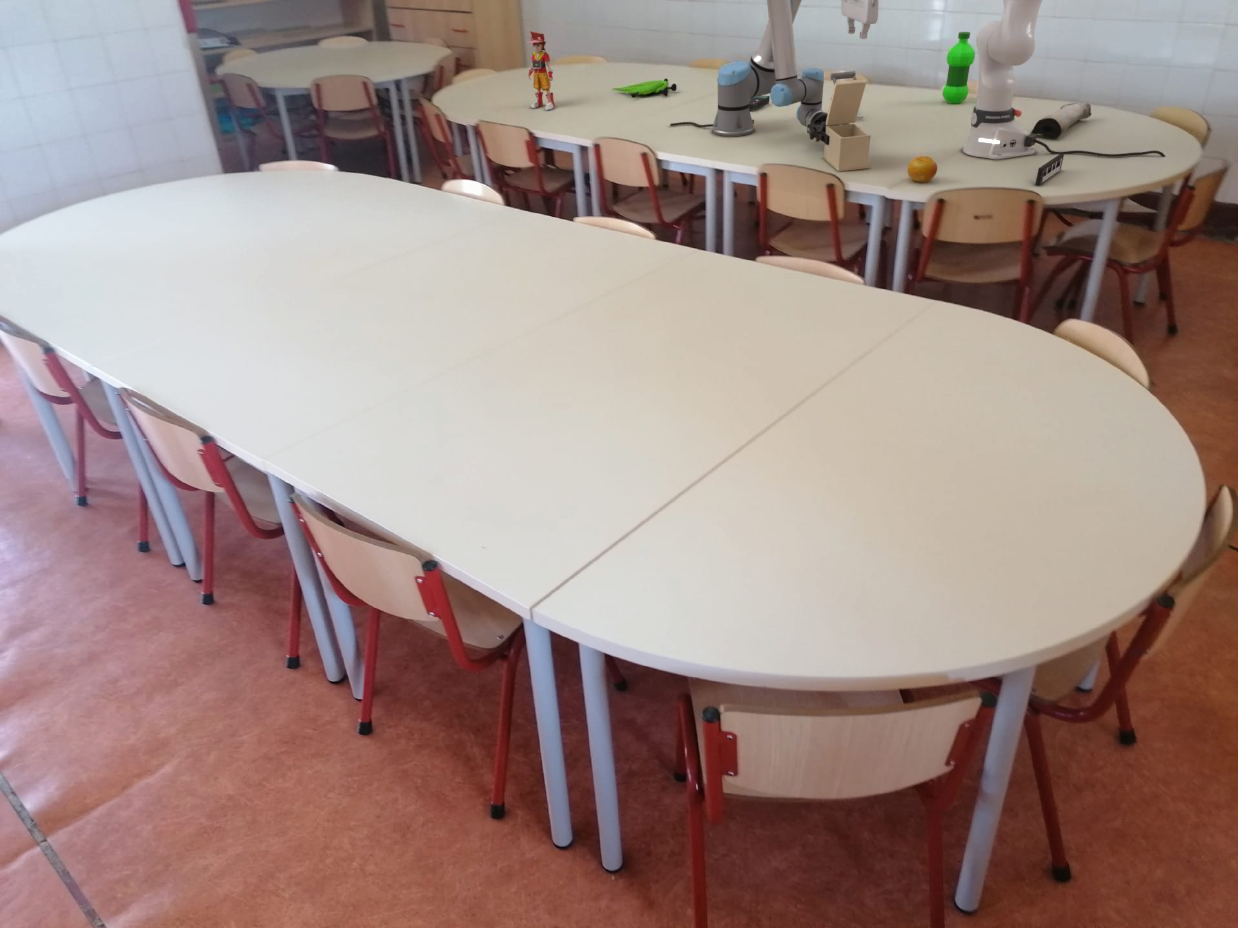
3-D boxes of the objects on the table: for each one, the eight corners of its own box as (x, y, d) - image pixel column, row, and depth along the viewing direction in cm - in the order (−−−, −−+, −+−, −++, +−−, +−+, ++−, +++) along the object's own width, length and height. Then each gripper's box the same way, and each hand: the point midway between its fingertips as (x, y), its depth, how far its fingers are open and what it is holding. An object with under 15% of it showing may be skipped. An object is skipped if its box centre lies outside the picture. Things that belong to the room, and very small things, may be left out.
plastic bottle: (973, 101, 354) (984, 32, 339) (955, 106, 349) (966, 36, 335) (952, 97, 361) (962, 29, 346) (934, 102, 356) (944, 33, 342)
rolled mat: (1058, 107, 328) (1083, 90, 320) (1071, 128, 329) (1097, 111, 320) (1025, 130, 311) (1051, 112, 303) (1040, 152, 311) (1065, 134, 303)
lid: (866, 82, 283) (859, 63, 288) (836, 85, 283) (829, 66, 287) (855, 122, 297) (848, 105, 301) (826, 125, 297) (819, 107, 301)
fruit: (901, 172, 275) (918, 148, 272) (903, 174, 283) (919, 151, 280) (924, 187, 274) (941, 164, 271) (925, 189, 282) (942, 166, 279)
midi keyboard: (1039, 185, 269) (1043, 168, 266) (1035, 184, 270) (1038, 168, 267) (1060, 170, 279) (1064, 154, 277) (1056, 169, 280) (1060, 153, 277)
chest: (867, 168, 291) (870, 135, 285) (838, 171, 291) (840, 138, 285) (852, 155, 304) (854, 123, 298) (823, 158, 303) (825, 126, 297)
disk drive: (754, 111, 359) (769, 102, 369) (754, 104, 357) (770, 95, 367) (731, 109, 364) (746, 100, 374) (731, 102, 362) (747, 93, 372)
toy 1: (525, 109, 381) (517, 32, 364) (534, 104, 388) (527, 28, 371) (550, 110, 377) (543, 32, 360) (559, 105, 384) (553, 28, 367)
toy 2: (686, 85, 398) (631, 84, 414) (685, 72, 395) (629, 72, 411) (651, 104, 381) (596, 103, 397) (650, 92, 378) (594, 91, 394)
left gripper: (849, 130, 318) (874, 147, 300) (788, 137, 315) (810, 154, 297) (851, 108, 313) (877, 124, 295) (789, 114, 311) (811, 130, 293)
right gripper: (886, -11, 259) (880, 41, 267) (858, -19, 276) (854, 30, 284) (865, -10, 259) (860, 42, 267) (839, -18, 275) (835, 31, 283)
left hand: (843, 139), depth 296 cm, fingers closed on chest, 10 cm apart
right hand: (857, 36), depth 275 cm, fingers open, 8 cm apart
